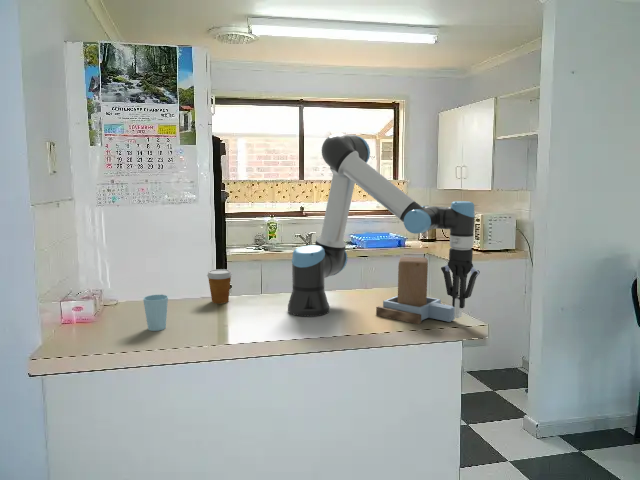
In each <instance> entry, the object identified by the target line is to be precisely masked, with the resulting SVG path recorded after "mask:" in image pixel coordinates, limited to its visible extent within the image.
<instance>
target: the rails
mask: <svg viewBox="0 0 640 480" xmlns="http://www.w3.org/2000/svg"><path fill="white" fill-rule="evenodd" d="M441 304H444V305H446V304H445V303H443V302H441ZM375 309H376V312H375V314H376V316H379V317H383V318H388V319H393V320H397V321H402V322H407V323H411V324H417V325H421V324H422V321H421V314H416V313H411V312H406V311H401V310H396V309H391V308H386V307H383V306H381V305H377V306H376V308H375Z"/></svg>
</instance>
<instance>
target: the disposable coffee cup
mask: <svg viewBox="0 0 640 480" xmlns="http://www.w3.org/2000/svg"><path fill="white" fill-rule="evenodd" d="M232 275H233V274H232V271H231V270H229V269H227V268H226V269H225V268H223V269H222V268H220V269H219V268H218V269H211V270H208V272H207V275H206V276H207V279H208V283H209V284H208V286H209V290H210V297H211V303H213V304H217V305H218V304H226V303H228V302H229V299H230V297H229V296H230V291H231V290H230V289H231V279H232Z"/></svg>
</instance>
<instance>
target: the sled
mask: <svg viewBox="0 0 640 480" xmlns="http://www.w3.org/2000/svg"><path fill="white" fill-rule="evenodd" d="M441 303H442V300H441V299H440V298H435V297H429V296H427V303H426V305H424V306H421V307H416V306H411V305H406V304H401V303H398V295H396V296H394V297H390V298H388V299H385V300H383V302H382V307H386V308H391V309H396V310H401V311H406V312H411V313H416V314H421V322H422V321H424V320H426V319H435V320H438V321H442V322H443V321H444V322H448V323H450V322H452V321H454V320H455V319H456V318H455V317H454V310H455V307H453V306H452V305H450V304H445V303H442V304H441ZM444 304H445V305H444Z"/></svg>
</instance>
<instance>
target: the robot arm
mask: <svg viewBox="0 0 640 480" xmlns="http://www.w3.org/2000/svg"><path fill="white" fill-rule="evenodd" d="M370 149H371V148H370V146H369V144H368V142H367V140H365V139H364V138H363V137H361V136H358V135H356V134H346V133H334V134H331V135H329V136H328V137H326V139H324V141H323V143H322V146H321V156H322V159H323V161H324V162H325V163H326V164H327V165H328V166H329V167H330V168H329V170H330V172H331V173H332V176H331V177H332V178H331V182H330V183H331V184H330V188H329V193H328V199H327V203H326V208H325V213H324V219H323V222H322V228H321V234H320V236H319V237H316V238H315V243H314V244H309V245H302V246H299V247H297V248H295V249H294V250H293V252H292V257H291V263H292V264H291V265H292V268H291V269H292V270H291V272H292V281H291V282H292V290H291V293H290V298H289V301H288V304H287V312H288V313H289V314H291V315H293V316H299V317H317V316H323V315H326V314H328V313H329V312H330V303H329V302H328V298H327V295H326V291H325V279H327V278H328V277H331V276H332V277H333V276H336V275H337V274H339V273H340V272H342V271H343V270H344V269H345V268H346V267H347V263H348V253H347V251H346V246H347V244H346V242H345V241H344V237H345V233H346V226H347V222H348V218H349V213H350V207H351V203H352V198H353V195H354V194H353V193H354V189H355V184H356V186H358V187H359V188H361V189H362V190H363V191H364V192H365V193H366V194H368V195H369V196H370V197H371V198H373V199H374V200H376V201H377V202H378V203H379V204H380V205H381V206H383V207H384V208H385V209H386V210H388V211H389V212H390V213H392V215H394V216H395V217H396V218H397V219H399V220H400V221H401V222H403V225H404V228H405V230H407V231H408V232H409V233H411V234H415V235H416V234H417V235H418V234H423V233H425V232H427V231H431V230H434V229H436V230H449V247H450V248H449V250H448V251H449V252H448V262H447V264H446V265H444V266H442V267H441V268H440V270H441V271H442V274H443V278H444V283H445V288H446V294H447V295H448V296H450V297H451V298H452V301H451V302H452V304H451V306H453V307H455V310H454V317H455V319H460V318H461V317H462V315H463V309H464V308H465V306H466V305H465V304H466V299H468V298H470V297H471V296H472V293H473V290H474V286H475V284H476V280H477V277H478V275H480V271H479V270H477V269H476V268H474V264H473V257H474V256H473V255H474V250H473V249H472V248H474V231H475V230H474V229H475V228H474V227H475V219H476V218H475V217H476V215H475V203H473V202H472V201H468V200H467V201H464V200H455V201H454V200H453V201H452V202H451V203H450V206H435V205H421V204H419V203H418V202H416V200H414V199H413V198H411V197H410V196H409V195H408V194H407V193H405V192H404V191H402V189H400V188H399V187H398V186H396V185H395V183H393V182H391V181H390V180H389V179H387V178H386V177H385V176H384V175H382V174H381V173H380V172H379V171H377V170H376V169H375V168H374V167H372V166H371V165H370V164H368V161H369V159H370V156H371V150H370ZM451 273H452V274H451ZM469 273H470V277H469V279H468V282H467V278H468V274H469ZM451 275H452V276H451Z"/></svg>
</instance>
